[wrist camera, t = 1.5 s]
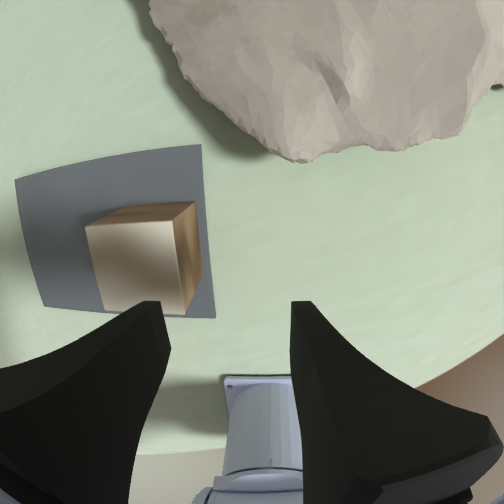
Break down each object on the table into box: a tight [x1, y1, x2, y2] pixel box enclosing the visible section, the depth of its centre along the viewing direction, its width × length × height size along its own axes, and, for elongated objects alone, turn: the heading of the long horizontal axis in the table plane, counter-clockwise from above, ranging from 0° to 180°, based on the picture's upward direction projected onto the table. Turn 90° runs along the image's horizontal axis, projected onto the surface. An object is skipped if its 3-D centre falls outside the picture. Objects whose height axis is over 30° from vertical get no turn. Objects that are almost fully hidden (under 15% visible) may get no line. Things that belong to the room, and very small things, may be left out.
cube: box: [85, 201, 203, 315], centre depth 16 cm, size 5×5×5 cm
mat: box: [15, 144, 216, 318], centre depth 19 cm, size 12×17×1 cm
